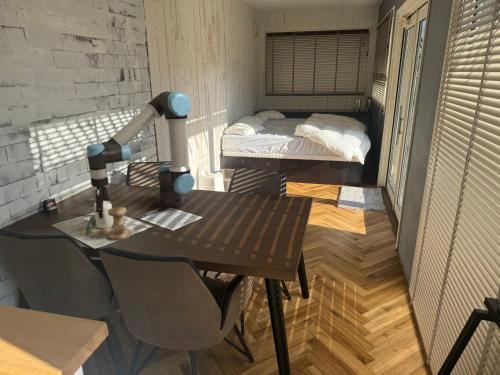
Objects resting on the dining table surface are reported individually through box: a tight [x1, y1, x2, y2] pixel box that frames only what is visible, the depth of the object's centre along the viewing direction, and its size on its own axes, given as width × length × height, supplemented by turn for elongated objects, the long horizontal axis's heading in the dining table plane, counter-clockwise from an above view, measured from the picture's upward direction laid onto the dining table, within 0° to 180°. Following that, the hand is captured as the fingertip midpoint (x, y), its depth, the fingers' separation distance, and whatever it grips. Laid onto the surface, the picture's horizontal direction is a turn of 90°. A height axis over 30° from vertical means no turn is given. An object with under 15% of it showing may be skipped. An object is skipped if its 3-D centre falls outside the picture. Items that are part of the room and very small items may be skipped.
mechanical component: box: [85, 197, 96, 207], centre depth 185 cm, size 3×10×10 cm, turn 79°
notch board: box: [84, 214, 125, 237], centre depth 172 cm, size 16×16×4 cm
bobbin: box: [108, 206, 132, 241], centre depth 162 cm, size 10×10×13 cm
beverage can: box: [93, 200, 114, 229], centre depth 170 cm, size 8×8×12 cm
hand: (104, 218), depth 170 cm, fingers open, 13 cm apart
